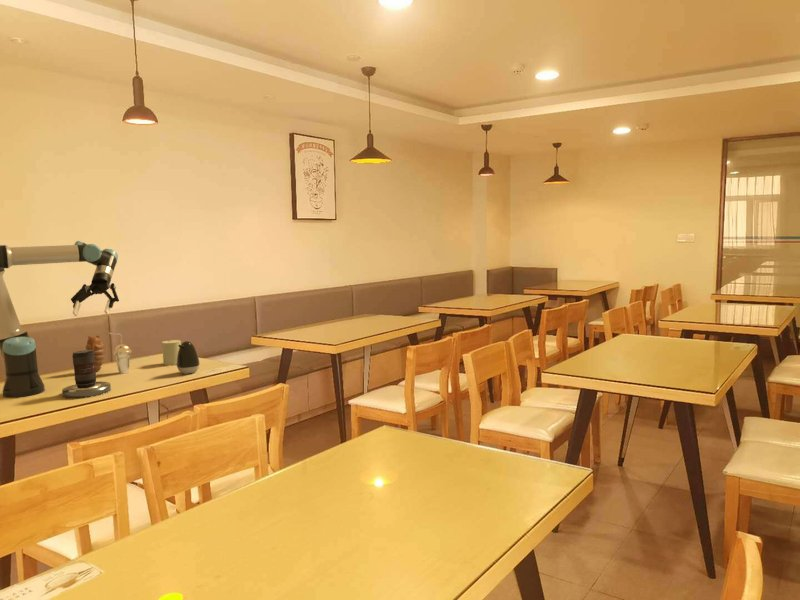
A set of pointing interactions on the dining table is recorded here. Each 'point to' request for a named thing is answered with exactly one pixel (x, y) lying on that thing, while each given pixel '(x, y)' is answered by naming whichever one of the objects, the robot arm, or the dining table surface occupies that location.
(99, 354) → the croissant
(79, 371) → the camera lens
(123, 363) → the cup with straw
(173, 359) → the pale green cup
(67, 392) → the plate
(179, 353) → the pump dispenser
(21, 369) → the robot arm
